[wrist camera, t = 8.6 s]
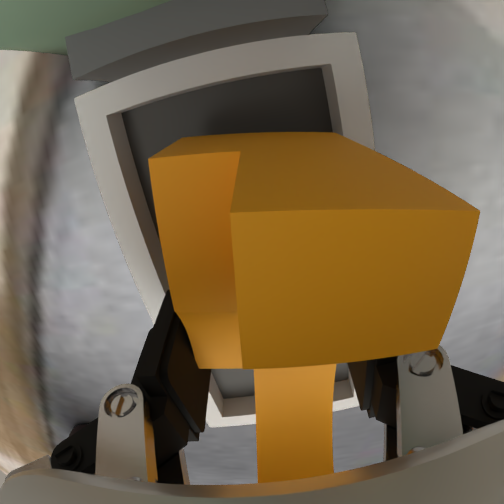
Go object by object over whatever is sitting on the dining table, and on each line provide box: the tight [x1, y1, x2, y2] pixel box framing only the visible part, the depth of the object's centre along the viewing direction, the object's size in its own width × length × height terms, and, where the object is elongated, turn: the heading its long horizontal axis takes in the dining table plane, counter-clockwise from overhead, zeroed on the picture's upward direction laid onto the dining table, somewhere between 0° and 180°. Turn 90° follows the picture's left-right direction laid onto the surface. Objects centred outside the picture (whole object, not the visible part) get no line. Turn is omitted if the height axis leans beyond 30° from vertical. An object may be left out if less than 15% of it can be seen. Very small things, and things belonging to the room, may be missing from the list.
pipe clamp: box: [148, 132, 480, 483], centre depth 8 cm, size 12×4×6 cm, turn 2°
